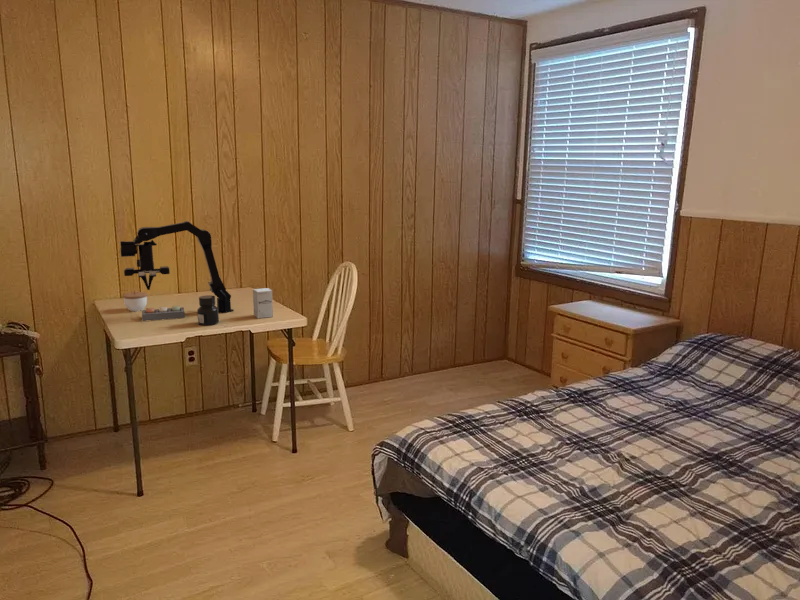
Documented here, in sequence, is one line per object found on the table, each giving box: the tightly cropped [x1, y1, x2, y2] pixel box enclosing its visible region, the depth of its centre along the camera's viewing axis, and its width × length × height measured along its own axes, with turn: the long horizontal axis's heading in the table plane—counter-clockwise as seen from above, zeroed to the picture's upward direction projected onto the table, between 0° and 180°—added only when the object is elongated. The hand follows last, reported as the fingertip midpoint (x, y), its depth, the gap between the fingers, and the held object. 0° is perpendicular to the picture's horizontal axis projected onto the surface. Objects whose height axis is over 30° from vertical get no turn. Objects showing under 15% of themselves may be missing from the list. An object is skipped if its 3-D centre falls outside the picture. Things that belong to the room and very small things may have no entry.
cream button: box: [158, 306, 168, 312], centre depth 280 cm, size 4×4×2 cm
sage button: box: [171, 305, 181, 311], centre depth 282 cm, size 4×4×2 cm
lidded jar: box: [122, 290, 148, 312], centre depth 293 cm, size 11×11×9 cm
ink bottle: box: [196, 294, 220, 326], centre depth 270 cm, size 10×9×12 cm
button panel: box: [141, 306, 186, 322], centre depth 281 cm, size 18×9×3 cm, turn 111°
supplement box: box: [252, 287, 274, 319], centre depth 283 cm, size 7×7×13 cm
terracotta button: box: [145, 307, 156, 313], centre depth 278 cm, size 4×4×2 cm
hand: (148, 289), depth 276 cm, fingers closed
